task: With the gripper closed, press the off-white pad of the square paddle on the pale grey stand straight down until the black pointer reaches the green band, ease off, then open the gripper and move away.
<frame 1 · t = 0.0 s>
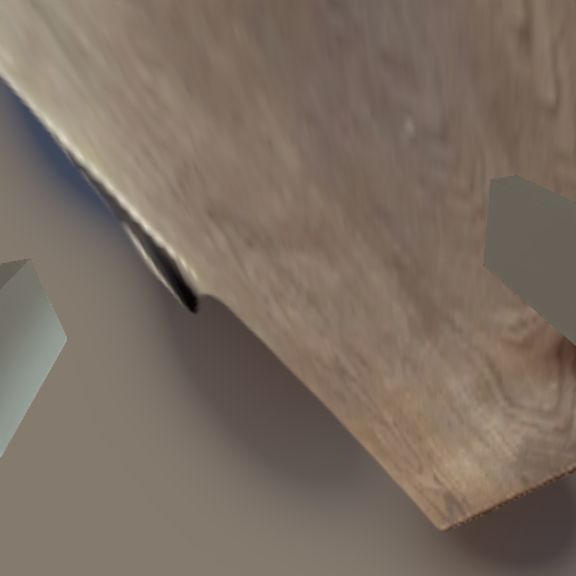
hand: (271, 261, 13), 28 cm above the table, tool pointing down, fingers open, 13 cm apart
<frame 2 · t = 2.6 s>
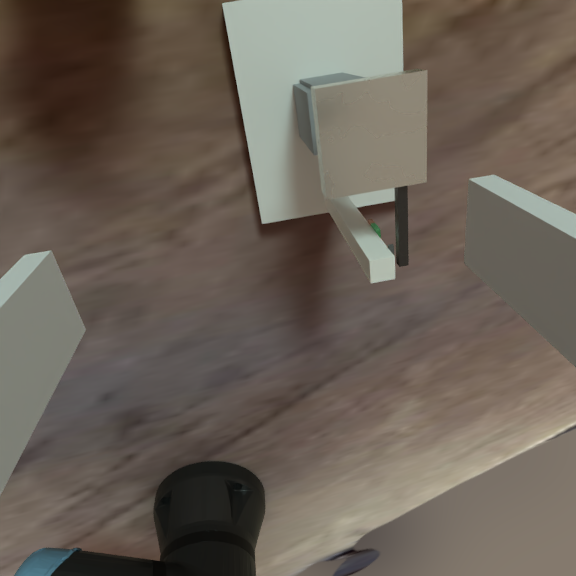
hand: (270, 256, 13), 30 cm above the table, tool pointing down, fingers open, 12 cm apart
square paddle: (356, 167, 30), point 13 cm above the table, slide at 0.0 cm
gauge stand: (319, 103, 40), on the table
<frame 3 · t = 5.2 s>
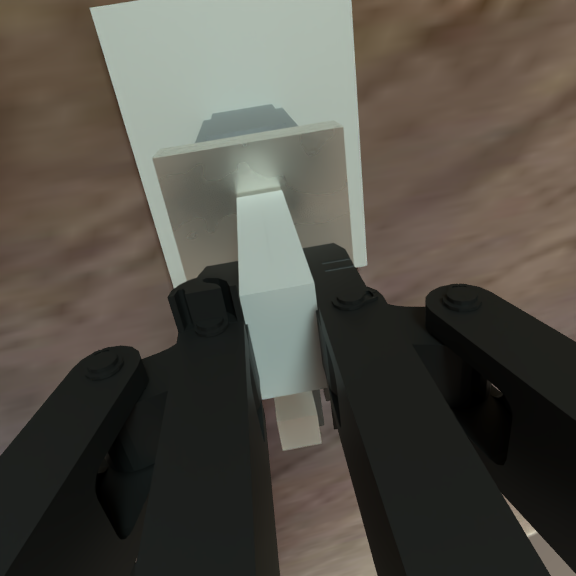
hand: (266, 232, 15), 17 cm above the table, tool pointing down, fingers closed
square paddle: (267, 250, 21), point 12 cm above the table, slide at 1.1 cm, touching gripper
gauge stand: (248, 143, 30), on the table
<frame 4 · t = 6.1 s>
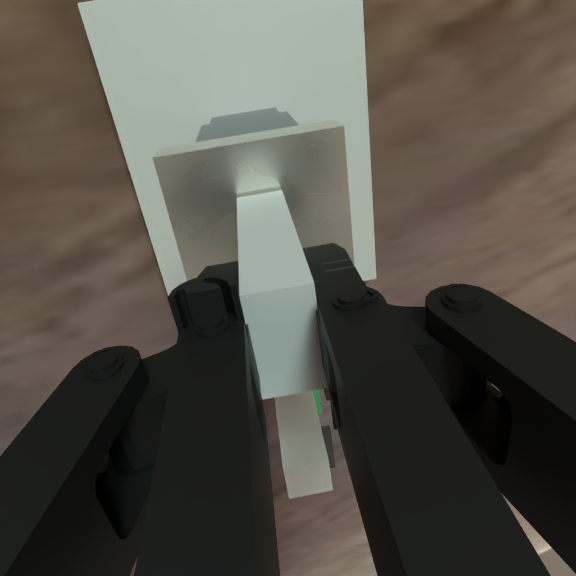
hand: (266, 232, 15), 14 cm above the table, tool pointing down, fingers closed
square paddle: (267, 249, 21), point 9 cm above the table, slide at 3.3 cm, touching gripper
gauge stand: (249, 149, 28), on the table
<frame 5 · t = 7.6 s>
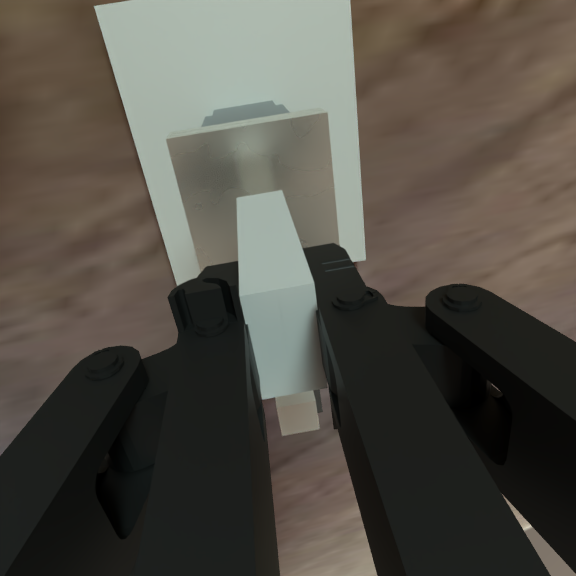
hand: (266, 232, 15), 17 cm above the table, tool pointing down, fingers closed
square paddle: (264, 226, 23), point 9 cm above the table, slide at 3.3 cm
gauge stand: (249, 139, 30), on the table
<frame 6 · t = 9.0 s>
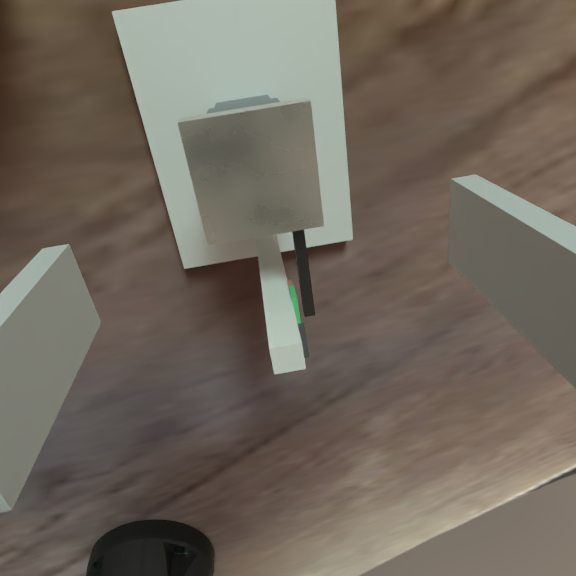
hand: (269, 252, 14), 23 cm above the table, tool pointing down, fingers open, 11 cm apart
square paddle: (260, 202, 27), point 9 cm above the table, slide at 3.3 cm
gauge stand: (247, 129, 34), on the table
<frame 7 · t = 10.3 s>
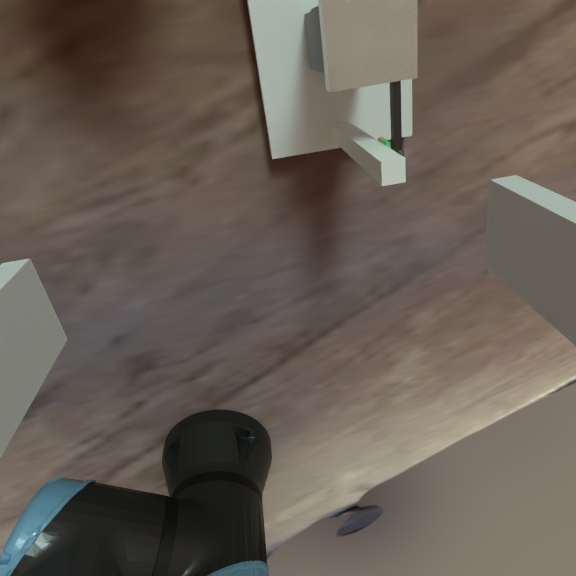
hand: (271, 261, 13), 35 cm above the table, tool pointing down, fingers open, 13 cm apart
square paddle: (356, 76, 34), point 9 cm above the table, slide at 3.3 cm
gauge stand: (329, 38, 41), on the table
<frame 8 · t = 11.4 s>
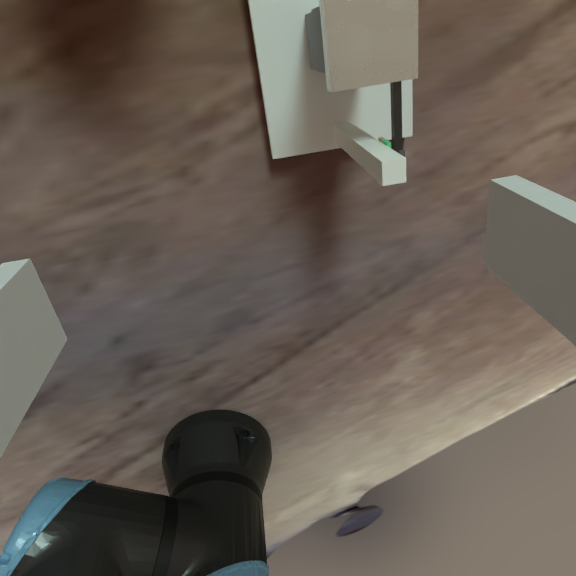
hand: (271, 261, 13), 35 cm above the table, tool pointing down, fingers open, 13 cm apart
square paddle: (357, 77, 34), point 9 cm above the table, slide at 3.3 cm
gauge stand: (330, 38, 41), on the table
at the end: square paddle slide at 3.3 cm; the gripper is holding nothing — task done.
